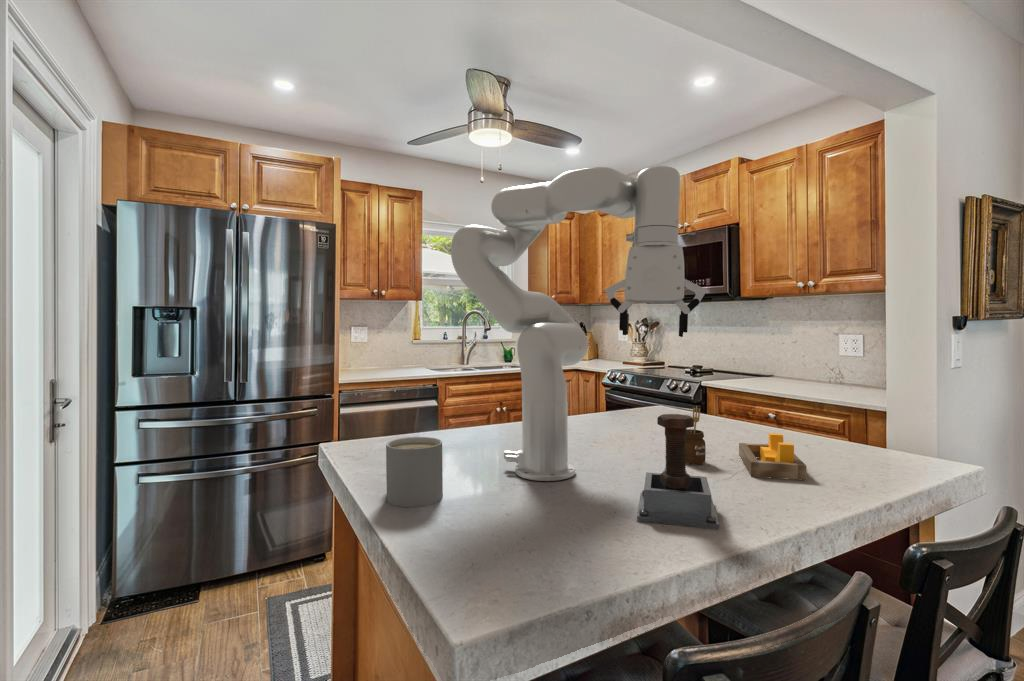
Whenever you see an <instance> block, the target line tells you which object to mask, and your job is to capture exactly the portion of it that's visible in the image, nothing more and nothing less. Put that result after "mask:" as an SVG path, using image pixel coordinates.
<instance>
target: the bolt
mask: <svg viewBox="0 0 1024 681" xmlns="http://www.w3.org/2000/svg"><path fill="white" fill-rule="evenodd" d="M691 416H692V415H691ZM691 416H689V415H688V414H678V413H665V414H664V413H663V414H661V415H659V416H658V417H656V419H657V422H656V423H657V425H658V426H661V427H663V428H664V436H665V439H664V440H665V457H664V458H665V467H666V471H664V470H663V471H664V472H663V471H662V472H661V474H660V482H661V484H662V485H663V486H665V487H666V490H678V491H685V490H686V488H688V487H689V486H690V485H691V477H690V476H691V475H690V474H689V473H688V472H687V469H686V465H687V464H686V463H685V462H686V461H685V460H686V459H685V458H686V457H685V456H686V455H685V454H686V453H685V452H686V451H685V450H686V449H685V448H686V446H685V445H686V444H685V443H686V442H685V441H686V440H685V439H686V428H687V429H688V428H689V429H690V427H691V428H694V424H695V422H694V419H693V418H692V417H693V416H692V417H691ZM685 470H686V471H685ZM685 472H687V473H685Z"/></svg>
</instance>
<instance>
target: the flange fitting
mask: <svg viewBox="0 0 1024 681" xmlns="http://www.w3.org/2000/svg"><path fill="white" fill-rule="evenodd" d="M664 471H666V466H665V467H664V469H663V471H662V472H664ZM685 471H686V472H685V473H687V474H688V472H687V469H686V470H685ZM662 472H661V473H662ZM661 473H660V472H647V471H646V472H645V479H644V486H643V490H642V492H640V495H639V501H638V508H637V514H636V515H637V516H636V522H640V523H642V522H643V523H651V524H660V525H661V524H662V525H672V526H681V527H682V526H683V527H690V528H700V529H701V528H702V529H709V530H720V523H719V520H718V516H717V511H716V509H715V508H716V507H715V505H714V500H713V498H712V492H711V489H710V485H709V482H708V477H707V476H697V475H690V477H691V485H690V486H689V487H688V488H686V490H685V491H678V490H666V487H665V486H663V485H662V484H661V482H660V474H661Z"/></svg>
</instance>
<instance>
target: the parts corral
mask: <svg viewBox="0 0 1024 681" xmlns="http://www.w3.org/2000/svg"><path fill="white" fill-rule="evenodd" d="M760 447H769V444H766V443H765V444H762V443H746V442H739V443H738V457H739V456H740V457H741V458H740V457H739V458H740V460H741V459H742V460H741V462H742V461H743V462H742V463H743V466H744V467H745V466H746V467H745V468H747V469H746V470H747V472H748V474H749V475H751V476H750V477H751V478H763V477H771V478H770V479H777V478H788V479H787V480H790V479H802V480H801V481H804V480H806V481H807V465H806V464H805V463H804V462H803V461H802V460H801V458H799V457H798V456H797V455H796V454H795V453H794V463H786V462H770V461H761V460H758V458H756V457H760Z"/></svg>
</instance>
